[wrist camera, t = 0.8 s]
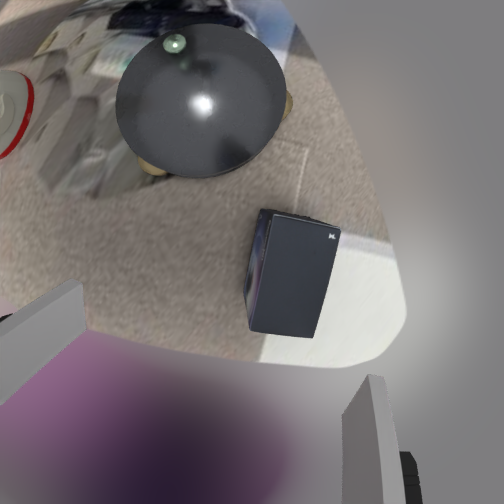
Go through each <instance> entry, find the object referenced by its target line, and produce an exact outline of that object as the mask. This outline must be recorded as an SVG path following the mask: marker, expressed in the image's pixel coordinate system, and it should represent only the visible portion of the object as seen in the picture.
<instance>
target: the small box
mask: <svg viewBox="0 0 504 504" xmlns="http://www.w3.org/2000/svg"><path fill="white" fill-rule="evenodd" d="M340 234H341V228H340V227H337V226H333V225H330V224H327V223H324V222H321V221H318V220H314V219H311V218H310V217H306V216H299V215H296V214H294V215H293V214H288V213H284V212H280V211H277V210H271V209H263V208H262V209H261V210H260V213H259V218H258V222H257V227H256V232H255V237H254V241H253V246H252V251H251V256H250V261H249V266H248V271H247V276H246V281H245V287H244V298H245V304H246V310H247V316H248V322H249V329H250V331H254V332H260V333H267V334H275V335H283V336H292V337H302V338H313V337H314V333H315V330H316V327H317V323H318V320H319V316H320V313H321V309H322V306H323V302H324V299H325V295H326V291H327V287H328V284H329V280H330V276H331V272H332V268H333V264H334V260H335V256H336V252H337V247H338V242H339V238H340Z"/></svg>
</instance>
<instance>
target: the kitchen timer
mask: <svg viewBox="0 0 504 504" xmlns="http://www.w3.org/2000/svg"><path fill="white" fill-rule="evenodd" d="M33 103H34V91H33V86H32V84H31V81H30V80H29V79H28V78H27V77H26V76H24V75H23V74H21V73H19V72H16V71H9V70H0V159H2V158H3V157H5V156H7V155H8V154H9V153H10V152H11V151H12V150H13V149H14V148H15V147H16V145H17V144H18V142H19V141H20V139H21V138H22V136H23V134H24V132H25V130H26V128H27V126H28V123H29V120H30V117H31V114H32V110H33Z"/></svg>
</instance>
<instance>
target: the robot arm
mask: <svg viewBox="0 0 504 504" xmlns="http://www.w3.org/2000/svg"><path fill="white" fill-rule="evenodd" d="M85 330H86V321H85V311H84V300H83V286H82V283H81V282H79V281H77V280H75V279H73V278H71V279H69V280H67V281H65V282H64V283H62V284H60V285H59V286H57V287H55V288H54V289H52V290H50V291H49V292H47V293H46V294H44V295H42V296H41V297H39V298H37V299H36V300H34V301H33V302H31V303H29V304H28V305H26V306H25V307H23V308H22V309H20V310H19V311H17V312H15V313H14V314H9V315H5V316H2V317H1V318H0V405H2V404H3V403H4V402H5V401H7V400H8V399H9V398H10V397H11V396H12V395H13V394H14V393H15V392H16V391H17V390H18V389H19V388H20V387H22V386H23V385H24V384H25V383H26V382H27V381H28V380H29V379H30V378H31V377H32V376H33V375H35V374H36V373H37V372H38V371H39V370H40V369H41V368H43V366H45V365H46V364H47V363H48V362H49V361H50V360H52V358H54V357H55V356H56V355H57V354H58V353H60V352H61V351H62V350H63V349H64V348H65V347H66V346H68V345H69V344H70V343H71V342H72V341H73V340H75V339H76V338H77V337H78V336H79V335H80V334H81V333H83V332H84V331H85ZM342 440H343V441H342V442H343V443H342V445H343V471H342V473H343V474H342V504H423V503H422V495H421V488H420V486H419V484H420V481H419V476H418V470H417V464H416V461H415V460H414V458H413V456H412V455H411V453H410V452H400V451H399V449H398V442H397V437H396V431H395V426H394V421H393V416H392V411H391V406H390V402H389V397H388V392H387V388H386V384H385V379H384V377H382V376H376V375H371V374H368V375H367V377H366V378H365V380H364V382H363V383H362V385H361V386H360V388H359V390H358V391H357V393H356V394H355V396H354V398H353V399H352V401H351V402H350V404H349V405H348V407H347V409H346V410H345V411H344V413H343V414H342Z"/></svg>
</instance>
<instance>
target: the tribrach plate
mask: <svg viewBox="0 0 504 504" xmlns="http://www.w3.org/2000/svg"><path fill="white" fill-rule="evenodd" d="M292 106H293V100H292V97H291V95H290V93H289V92H288V91H287V90H286V83H285V78H284V75H283V71H282V69H281V67H280V65H279V63H278V61H277V59H276V58H275V56H274V55H273V54H272V52H271V51H270V50H269V49H268V48H267V47H266V46H265V45H264V44H263V43H262V42H260V41H259V40H258V39H256V38H255V37H253V36H252V35H250V34H248V33H246V32H244V31H242V30H239V29H236V28H233V27H230V26H225V25H219V24H196V25H189V26H185V27H181V28H177V29H175V30H172V31H169V32H167V33H165V34H163V35H161V36H159V37H158V38H156V39H154V40H153V41H151V42H150V43H149V44H147V45H146V46H145V47H144V48H143V49H141V51H140V52H139V53H138V54H137V55H136V56H135V57H134V58H133V59H132V61H131V62H130V63H129V65H128V66H127V68H126V70H125V72H124V73H123V76H122V78H121V80H120V83H119V86H118V90H117V95H116V117H117V122H118V125H119V128H120V131H121V133H122V135H123V137H124V139H125V141H126V142H127V144H128V145H129V146H130V148H131V149H132V150H133V151H134V152H135V153H136V154H137V155H138V163H139V165H140V167H141V168H142V170H143V171H145V172H146V173H149V174H152V175H155V176H162V175H165V174H167V173H171V174H174V175H177V176H181V177H187V178H209V177H216V176H220V175H223V174H226V173H229V172H231V171H234V170H236V169H238V168H240V167H242V166H243V165H245V164H246V163H248V162H249V161H250V160H252V159H253V158H254V157H255V156H256V155H257V154H258V153H259V152H260V151H261V150H262V149H263V148H264V146H265V145H266V144H267V143H268V141H269V140H270V139H271V138H272V136H273V135H274V133H275V132H276V130H277V129H278V127H279V124H280V122H281V121H282V120H283V119H284V118H285V117H286V116H287V115H288V114H289V112H290V111H291V109H292Z"/></svg>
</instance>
